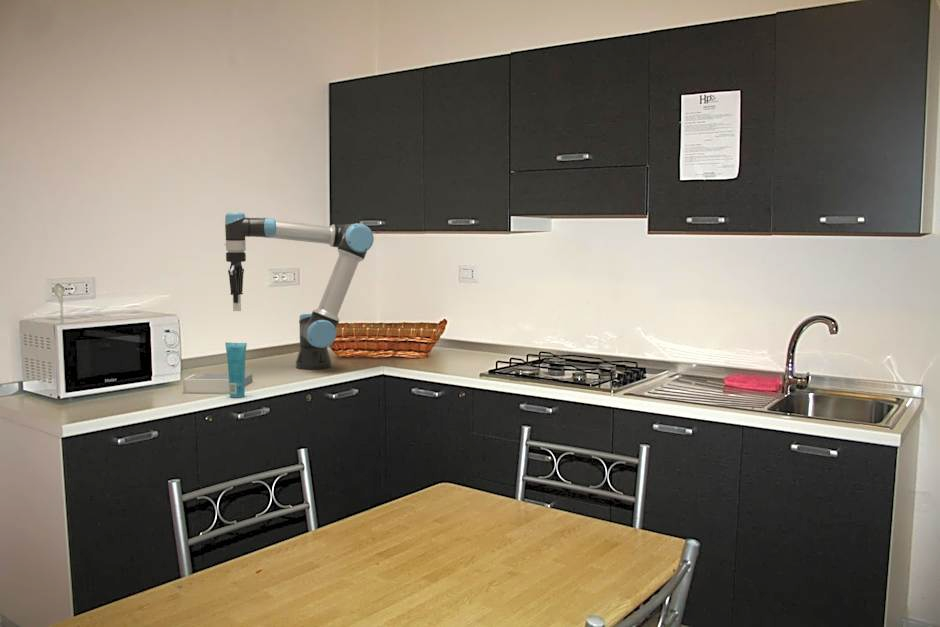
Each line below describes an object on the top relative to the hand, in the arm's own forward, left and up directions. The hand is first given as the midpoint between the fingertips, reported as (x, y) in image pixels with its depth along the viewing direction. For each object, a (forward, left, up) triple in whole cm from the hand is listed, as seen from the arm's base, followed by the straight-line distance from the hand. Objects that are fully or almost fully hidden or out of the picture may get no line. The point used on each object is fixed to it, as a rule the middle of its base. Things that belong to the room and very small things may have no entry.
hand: (237, 310), depth 324 cm
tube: (-12, +40, -27) cm, 50 cm away
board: (0, +18, -26) cm, 32 cm away
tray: (0, +30, -26) cm, 40 cm away
